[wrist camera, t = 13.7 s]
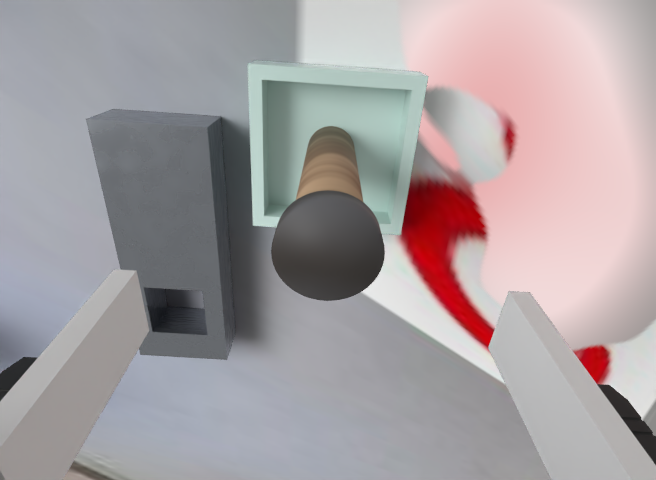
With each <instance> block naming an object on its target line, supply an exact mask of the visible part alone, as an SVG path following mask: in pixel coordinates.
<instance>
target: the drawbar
mask: <svg viewBox="0 0 656 480" xmlns="http://www.w3.org/2000/svg"><path fill="white" fill-rule="evenodd" d="M86 121H87V126H88V130H89V134H90V139H91V143H92V147H93V151H94V156H95V160H96V164H97V169H98V173H99V177H100V182H101V186H102V190H103V195H104V199H105V203H106V208H107V212H108V216H109V221H110V225H111V229H112V234H113V238H114V242H115V247H116V251H117V255H118V260H119V264H120V268H121V270H134V271H137V275H138V280H139V285H140V289H141V294H142V299H143V303H144V308H145V312H146V317H147V322H148V326H149V332H148V334H147V335H146V337H145V339H144V340H143V342H142V344H141V346H140V347H139V350H140V355H155V356H172V357H189V358H207V359H224V360H227V358H228V355H229V352H230V349H231V346H232V343H233V340H234V337H235V333H236V332H235V317H234V302H233V288H232V273H231V258H230V243H229V228H228V214H227V199H226V184H225V169H224V154H223V140H222V125H221V116H207V115H192V114H178V113H163V112H149V111H134V110H119V109H112V110H109V111H106V112H104V113H101V114H98V115H96V116H93V117H91V118H88V119H86ZM165 289H178V290H195V291H203V299H204V308H205V309H197V308H180V307H168V306H167V300H166V295H165Z"/></svg>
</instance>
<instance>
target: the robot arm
mask: <svg viewBox="0 0 656 480" xmlns="http://www.w3.org/2000/svg"><path fill="white" fill-rule="evenodd" d="M148 332H149V326H148V322H147V317H146V312H145V308H144V303H143V299H142V294H141V289H140V285H139V280H138V275H137V271H134V270H116V269H114V270H113V271H112V272H111V274H110V275H109V276H108V277H107V278H106V279H105V281H104V282H103V283H102V284H101V285H100V286H99V288H98V289H97V290H96V291H95V292H94V293H93V294H92V296H91V297H90V298H89V299H88V300H87V301H86V303H85V304H84V305H83V306H82V307H81V308H80V310H79V311H78V312H77V313H76V314H75V315H74V316H73V318H72V319H71V320H70V321H69V322H68V323H67V325H66V326H65V327H64V328H63V329H62V330H61V332H60V333H59V334H58V335H57V336H56V337H55V339H54V340H53V341H52V342H51V343H50V344H49V345H48V347H47V348H46V349H45V350H44V351H43V352H42V354H41V355H40V356H39V357H38V358H31V357H23V358H22V359H20V360H19V361H17V362H16V363H14V364H13V365H11V366H10V367H9V368H7V369H6V370H4V371H3V372H2V373H1V374H0V480H63V478H64V476H65V475H66V473H67V471H68V469H69V468H70V466H71V464H72V463H73V461H74V459H75V457H76V456H77V454H78V452H79V451H80V449H81V447H82V445H83V444H84V442H85V440H86V439H87V437H88V435H89V433H90V432H91V430H92V428H93V426H94V425H95V423H96V421H97V420H98V418H99V416H100V414H101V413H102V411H103V409H104V408H105V406H106V404H107V402H108V401H109V399H110V397H111V396H112V394H113V392H114V390H115V389H116V387H117V385H118V383H119V382H120V380H121V378H122V377H123V375H124V373H125V371H126V370H127V368H128V366H129V365H130V363H131V361H132V359H133V358H134V356H135V354H136V353H137V351H138V349H139V347H140V346H141V344H142V342H143V340H144V339H145V337H146V335H147V334H148ZM488 348H489V351H490V353H491V355H492V357H493V359H494V361H495V363H496V365H497V367H498V369H499V371H500V374H501V376H502V378H503V380H504V382H505V384H506V386H507V388H508V390H509V392H510V394H511V397H512V399H513V401H514V403H515V405H516V407H517V409H518V411H519V413H520V415H521V417H522V419H523V422H524V424H525V426H526V428H527V430H528V432H529V434H530V436H531V438H532V440H533V442H534V445H535V447H536V449H537V451H538V453H539V455H540V457H541V459H542V461H543V463H544V465H545V468H546V470H547V472H548V474H549V476H550V478H551V480H656V436H653V434H652V433H653V432H652V431H651V430H650V428H649V427H648V426H647V424H646V423H645V422H644V421H642V420H641V417H640V415H639V414H638V413H637V412H636V410H635V409H634V408H633V406H632V405H631V404H630V403H629V401H628V400H627V399H626V398H624V397H623V396H622V395H621V394H620V393H618V392H617V391H616V390H615V389H613V388H612V387H611V386H610V385H600V384H596V382H595V381H594V380H593V378H592V377H591V376H590V374H589V373H588V371H587V370H586V369H585V367H584V366H583V365H582V363H581V362H580V360H579V359H578V358H577V356H576V355H575V354H574V352H573V351H572V350H571V348H570V347H569V346H568V344H567V343H566V341H565V340H564V339H563V337H562V336H561V334H560V333H559V332H558V331H557V329H556V328H555V326H554V325H553V323H552V322H551V321H550V319H549V318H548V317H547V315H546V314H545V312H544V311H543V310H542V308H541V307H540V306H539V304H538V303H537V302H536V300H535V299H534V297H533V296H532V295H531V293H530V292H514V291H509V292H508V295H507V298H506V300H505V303H504V306H503V308H502V311H501V314H500V317H499V319H498V322H497V325H496V328H495V330H494V333H493V336H492V339H491V341H490V344H489V347H488Z"/></svg>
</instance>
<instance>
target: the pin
mask: <svg viewBox="0 0 656 480" xmlns="http://www.w3.org/2000/svg"><path fill="white" fill-rule="evenodd" d="M271 253H272V261H273V265H274V267H275V270H276V272H277V273H278V275H279V277H280V278H281V279H282V281H283V282H284V283H285V284H286V285H287V286H289V287H290V288H291V289H292V290H294V291H296V292H297V293H299V294H301V295H303V296H306V297H309V298H312V299H317V300H324V301H332V300H340V299H345V298H348V297H351V296H354V295H356V294H358V293H360V292H361V291H363V290H364V289H366V288H367V287H368V286H369V285H370V284H371V283H372V282H373V281H374V280H375V279H376V277H377V276H378V274H379V272H380V270H381V268H382V265H383V261H384V254H385V251H384V243H383V239H382V234H381V230H380V226H379V223H378V220H377V218H376V216H375V215H374V213H373V212H372V210H371V209H370V208H369V207H368V206H367V205H366V204H365V203H364V202H363V196H362V190H361V184H360V178H359V172H358V166H357V160H356V154H355V148H354V143H353V140H352V138H351V136H350V135H349V134H348V133H347V132H346V131H345V130H343V129H341V128H339V127H335V126H327V127H323V128H321V129H319V130H317V131H316V132H315V133H314V134H313V135H312V136H311V138H310V140H309V143H308V147H307V152H306V156H305V161H304V165H303V169H302V174H301V178H300V183H299V187H298V192H297V196H296V200H295V201H294V202H293V203H291V204H290V205H289V206H288V207H287V208H286V210H285V211H284V212H283V214H282V215H281V217H280V219H279V222H278V224H277V228H276V231H275V235H274V238H273V242H272V250H271Z"/></svg>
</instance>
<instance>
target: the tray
mask: <svg viewBox="0 0 656 480" xmlns="http://www.w3.org/2000/svg"><path fill="white" fill-rule="evenodd" d="M427 81H428V76H427V75H425V74H423V73H421V72H415V71H401V70H387V69H373V68H359V67H344V66H330V65H316V64H302V63H288V62H274V61H260V60H255V61H252V62H250V63H248V92H249V122H250V152H251V183H252V213H253V226H265V227H277V224H278V222H279V219H280V217H281V215H282V214H283V212H284V211H285V210H286V208H287V207H288V206H289V205H290V204H291V203H293V202H294V201H295V200H296V196H297V192H298V187H299V183H300V178H301V174H302V169H303V165H304V161H305V156H306V152H307V147H308V143H309V140H310V138H311V136H312V135H313V134H314V133H315V132H316V131H317V130H319V129H321V128H323V127H327V126H335V127H339V128H341V129H343V130H345V131H346V132H347V133H348V134H349V135H350V136H351V138H352V140H353V143H354V148H355V154H356V160H357V166H358V172H359V178H360V184H361V190H362V196H363V202H364V203H365V204H366V205H367V206H368V207H369V208H370V209H371V210H372V212H373V213H374V215H375V216H376V218H377V220H378V223H379V226H380V230H381V234H391V235H401V230H402V224H403V219H404V213H405V207H406V201H407V196H408V190H409V184H410V178H411V173H412V167H413V161H414V156H415V150H416V144H417V138H418V133H419V127H420V121H421V116H422V110H423V104H424V98H425V93H426V87H427Z"/></svg>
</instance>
